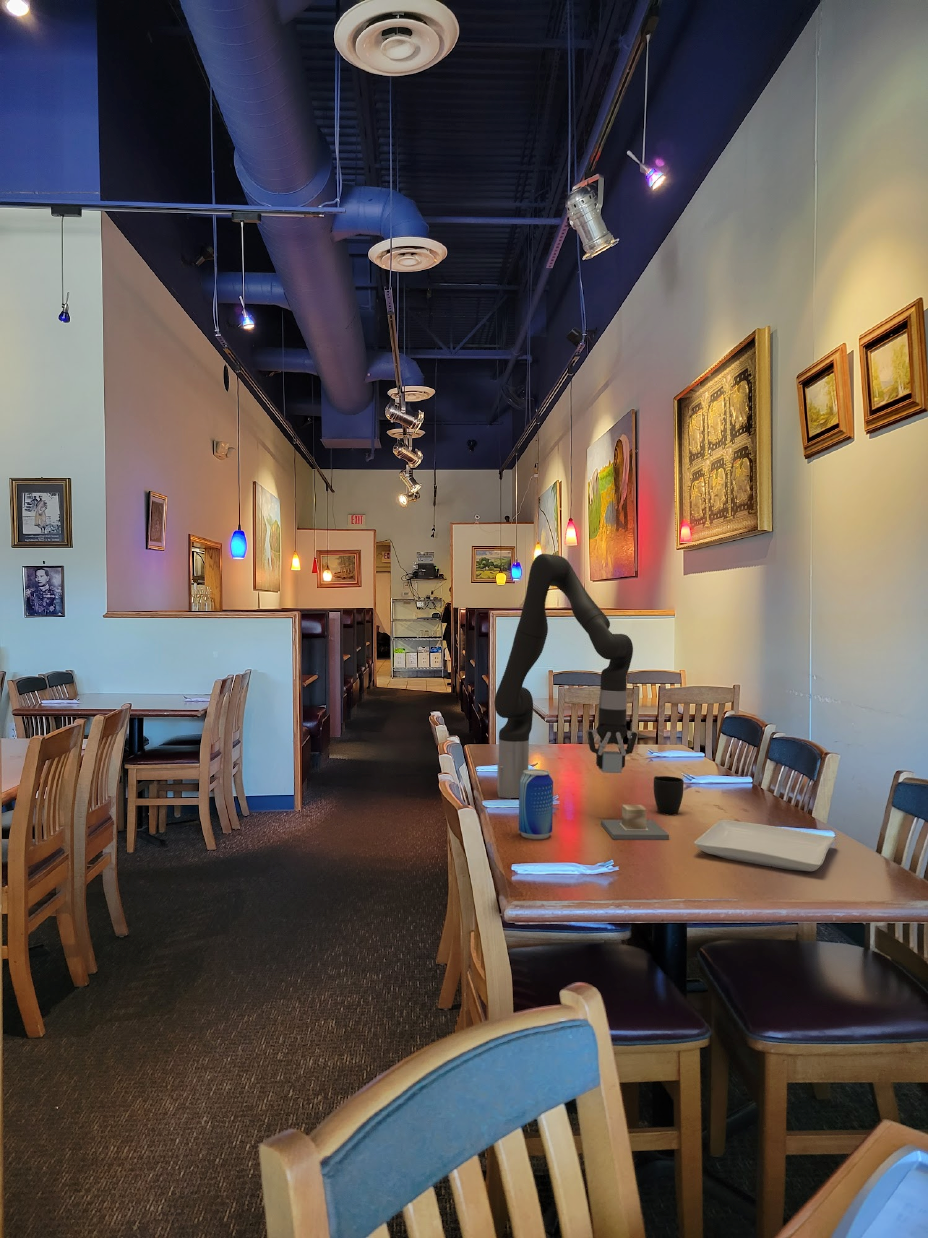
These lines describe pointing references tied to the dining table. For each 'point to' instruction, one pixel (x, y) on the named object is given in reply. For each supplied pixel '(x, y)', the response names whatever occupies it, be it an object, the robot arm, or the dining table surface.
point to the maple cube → (633, 816)
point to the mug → (668, 794)
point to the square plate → (765, 845)
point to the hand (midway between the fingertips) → (610, 768)
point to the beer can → (535, 804)
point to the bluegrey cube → (611, 762)
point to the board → (634, 831)
